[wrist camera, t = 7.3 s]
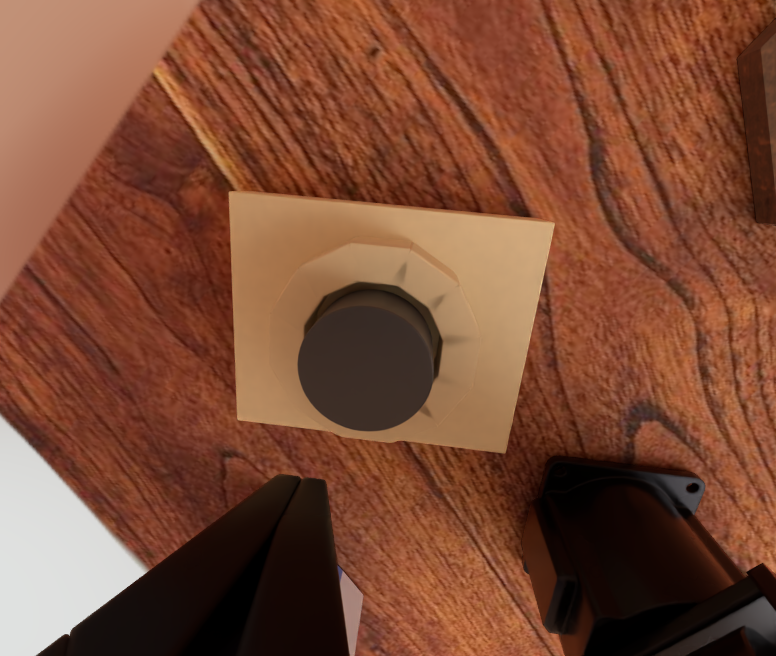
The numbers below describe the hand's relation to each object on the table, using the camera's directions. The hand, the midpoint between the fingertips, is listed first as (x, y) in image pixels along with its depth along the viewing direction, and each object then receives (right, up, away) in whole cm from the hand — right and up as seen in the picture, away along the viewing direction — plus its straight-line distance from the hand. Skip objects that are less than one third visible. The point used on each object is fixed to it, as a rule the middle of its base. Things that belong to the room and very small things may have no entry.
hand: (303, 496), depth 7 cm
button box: (+1, +3, +10) cm, 10 cm away
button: (+1, +2, +7) cm, 7 cm away
